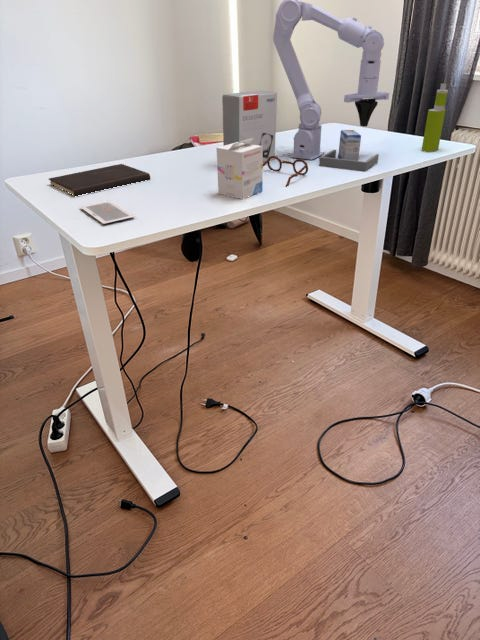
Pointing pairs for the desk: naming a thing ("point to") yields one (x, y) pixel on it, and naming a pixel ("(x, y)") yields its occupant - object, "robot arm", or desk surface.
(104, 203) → the touchpad
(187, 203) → the desk surface
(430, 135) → the vape
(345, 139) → the medicine box
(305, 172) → the glasses
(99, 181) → the hardcover book
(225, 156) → the ink box
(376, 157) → the box
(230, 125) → the hard drive box
